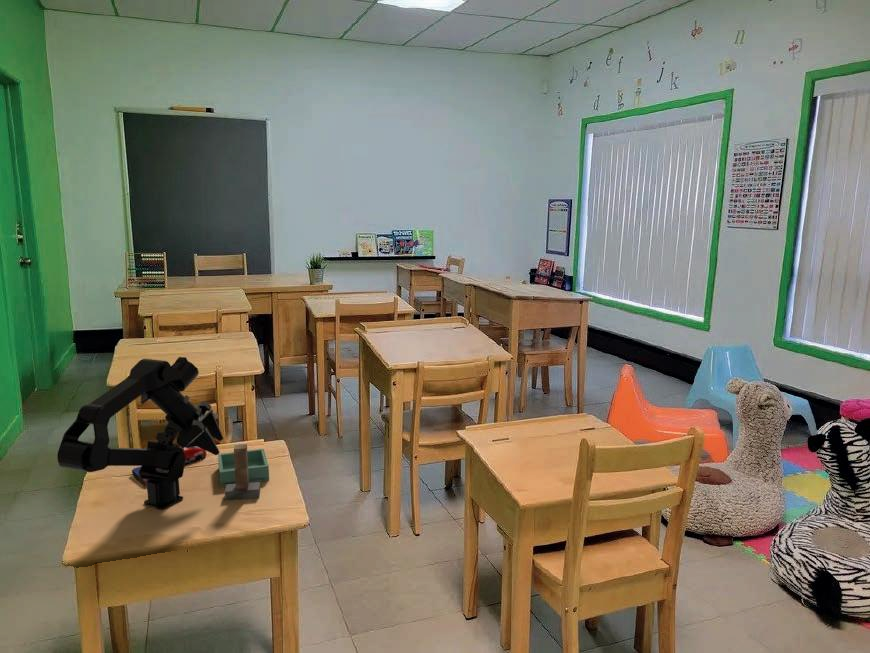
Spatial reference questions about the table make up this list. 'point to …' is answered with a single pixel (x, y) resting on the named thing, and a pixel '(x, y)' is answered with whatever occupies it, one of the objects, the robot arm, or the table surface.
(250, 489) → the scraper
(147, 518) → the table surface
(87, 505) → the table surface
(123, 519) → the table surface
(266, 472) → the box
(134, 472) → the eraser
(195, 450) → the race car
